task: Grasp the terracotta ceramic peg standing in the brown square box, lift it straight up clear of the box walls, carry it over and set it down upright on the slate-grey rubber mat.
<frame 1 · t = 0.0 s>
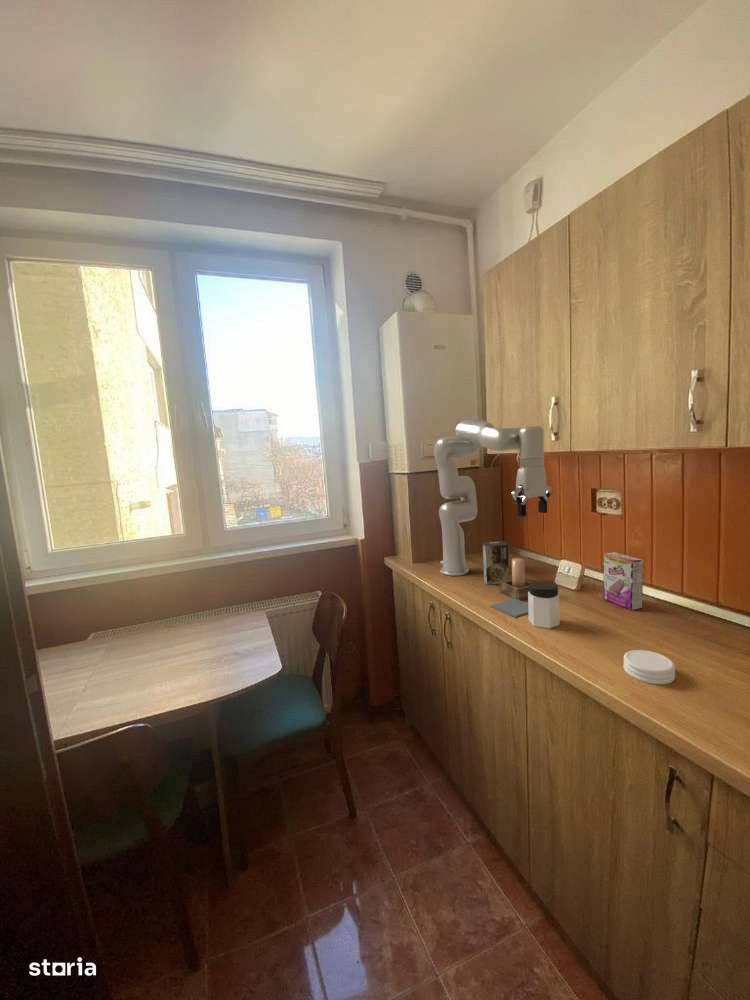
hand: (532, 514, 136), 31 cm above the table, fingers open, 9 cm apart
brown square box: (518, 593, 149), on the table
mat: (514, 608, 136), on the table
coffee box: (496, 582, 164), on the table
jar: (543, 623, 124), on the table
coaster: (648, 674, 95), on the table
candy bar box: (622, 604, 134), on the table
peg: (518, 594, 149), resting in brown square box
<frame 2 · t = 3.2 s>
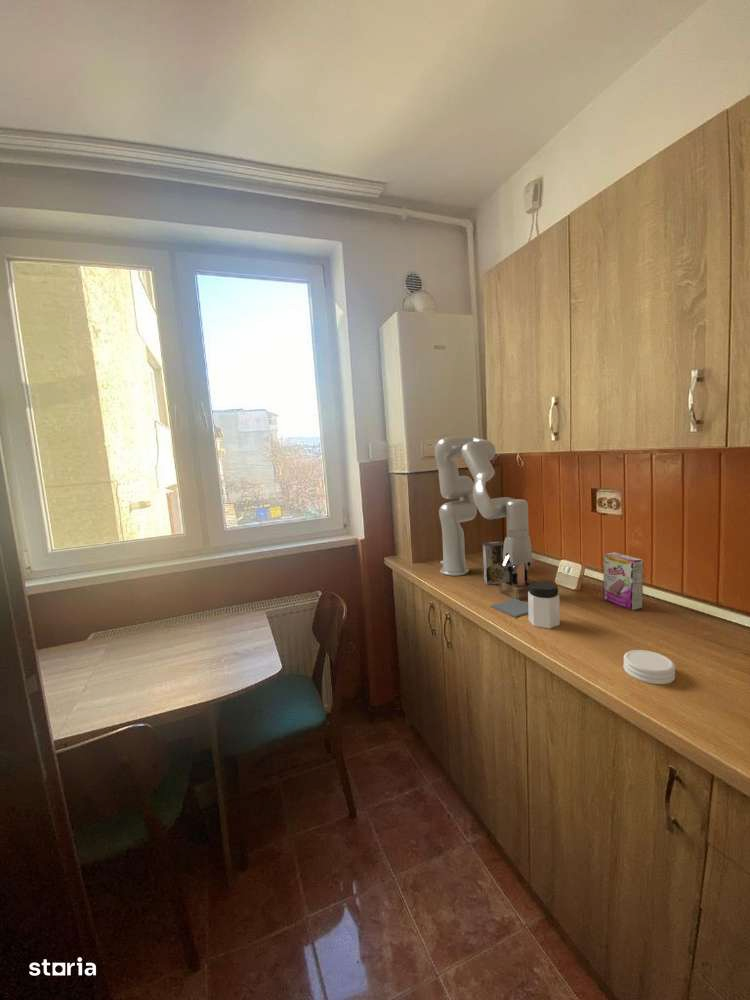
hand: (518, 581, 148), 5 cm above the table, fingers closed on peg, 4 cm apart
peg: (518, 594, 149), resting in brown square box, touching gripper
everything else where it was.
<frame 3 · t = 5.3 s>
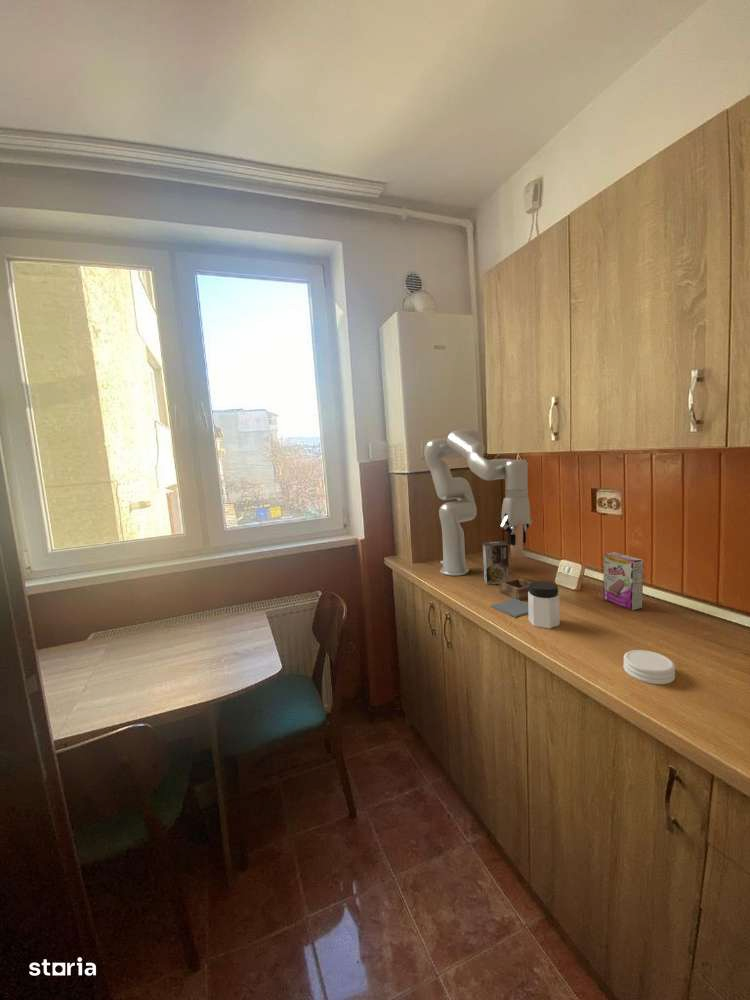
hand: (516, 542, 147), 19 cm above the table, fingers closed on peg, 4 cm apart
peg: (516, 555, 148), point 14 cm above the table, touching gripper
everything else where it was.
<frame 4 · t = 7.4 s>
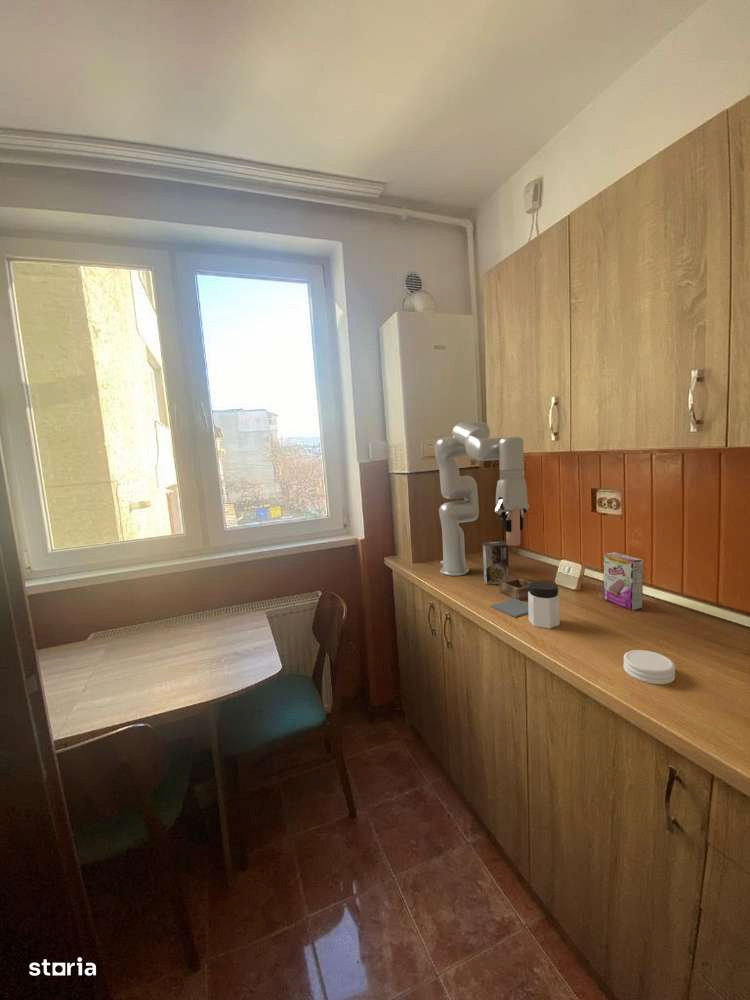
hand: (512, 529, 133), 27 cm above the table, fingers closed on peg, 4 cm apart
peg: (513, 544, 133), point 22 cm above the table, touching gripper
everything else where it was.
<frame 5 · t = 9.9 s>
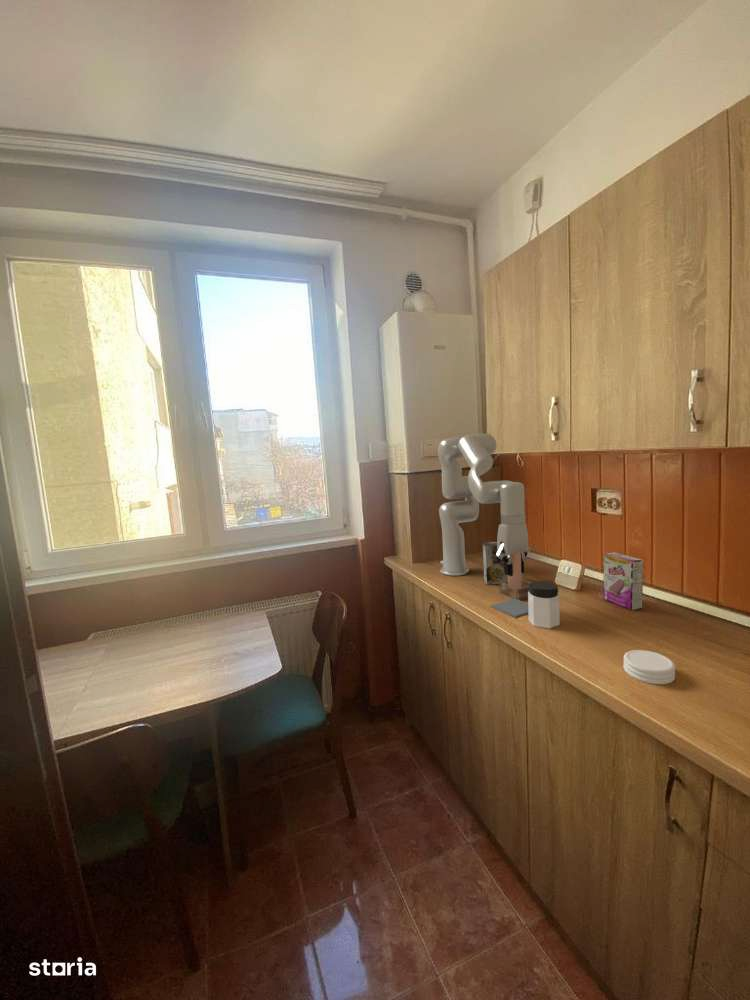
hand: (514, 573, 134), 12 cm above the table, fingers closed on peg, 4 cm apart
peg: (514, 587, 135), point 8 cm above the table, touching gripper
everything else where it was.
when the fingers open (7 cm above the table, at t = 11.9 s): peg drops 1 cm, resting on mat.
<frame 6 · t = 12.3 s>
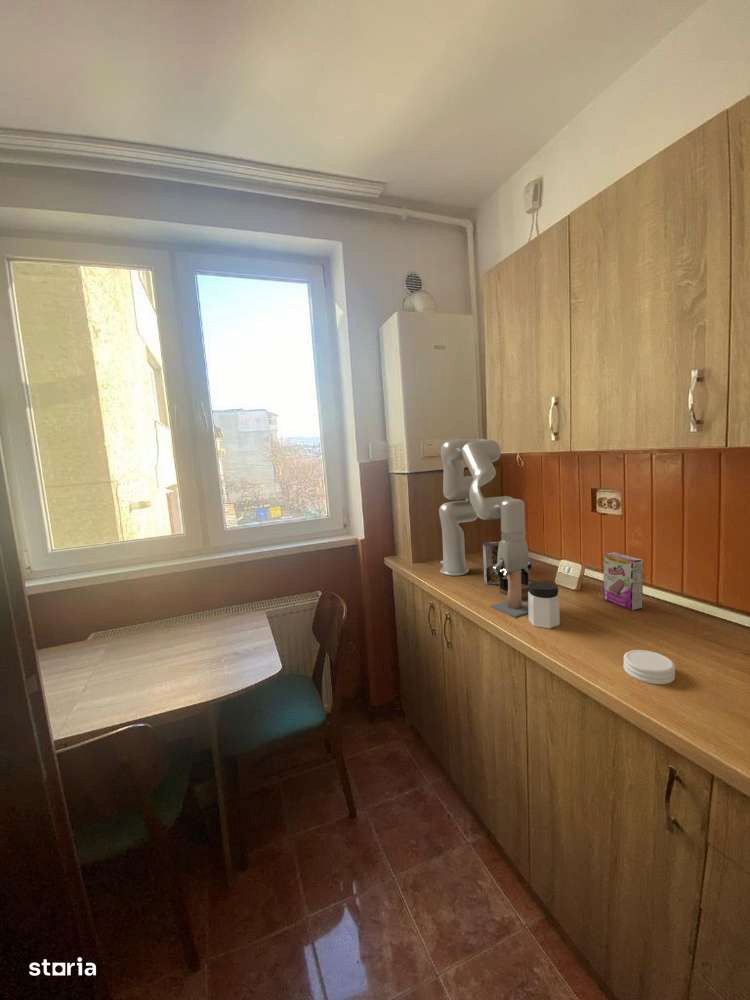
hand: (514, 586, 135), 8 cm above the table, fingers open, 8 cm apart
peg: (514, 606, 136), point 1 cm above the table, touching mat
everything else where it was.
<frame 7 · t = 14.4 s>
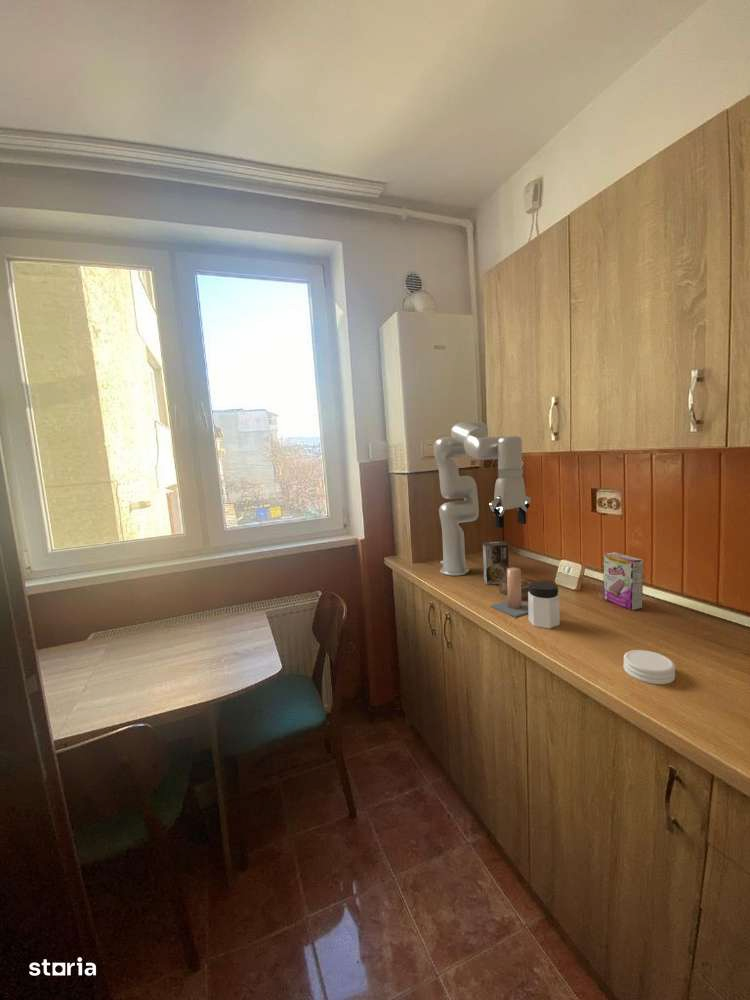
hand: (511, 525, 134), 28 cm above the table, fingers open, 9 cm apart
nothing on the table moved.
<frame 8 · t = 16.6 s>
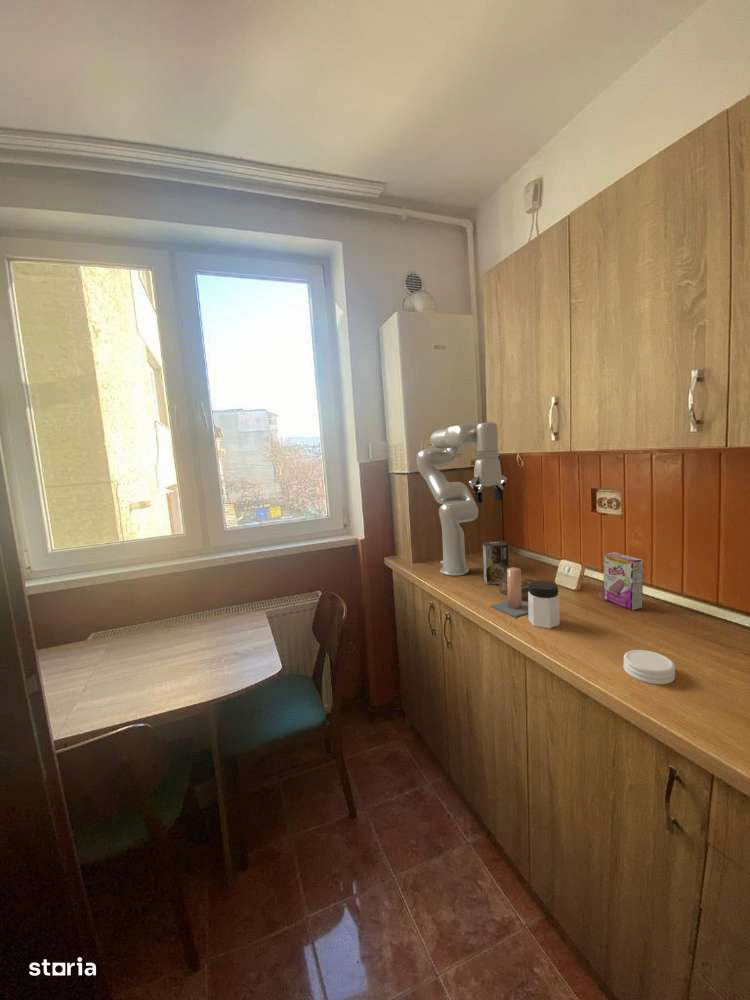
hand: (489, 501, 152), 34 cm above the table, fingers open, 9 cm apart
nothing on the table moved.
at the end: peg inside the target area on the mat (0.0 cm from its centre), point 0.6 cm above the mat's base; peg tilted 0°; the gripper is holding nothing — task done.
